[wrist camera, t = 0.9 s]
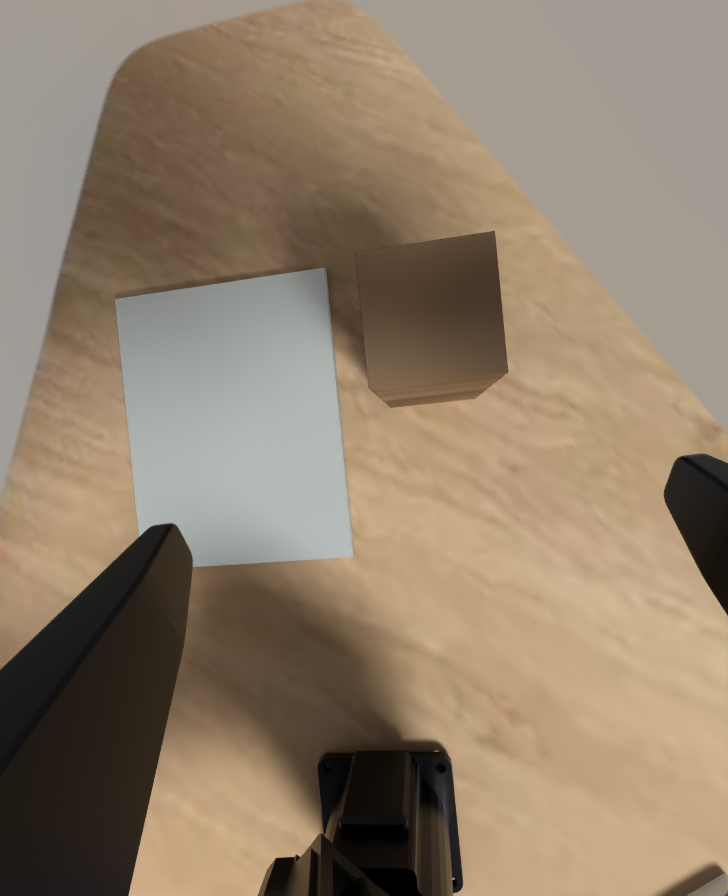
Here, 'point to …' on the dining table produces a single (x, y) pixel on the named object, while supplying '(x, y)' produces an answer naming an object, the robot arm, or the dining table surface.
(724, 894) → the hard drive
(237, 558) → the mat
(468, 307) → the walnut block
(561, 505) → the dining table surface
